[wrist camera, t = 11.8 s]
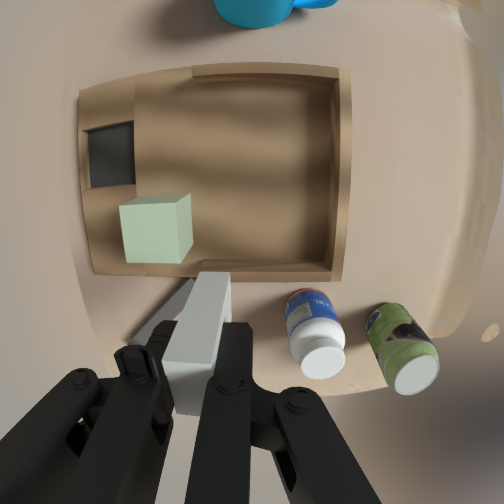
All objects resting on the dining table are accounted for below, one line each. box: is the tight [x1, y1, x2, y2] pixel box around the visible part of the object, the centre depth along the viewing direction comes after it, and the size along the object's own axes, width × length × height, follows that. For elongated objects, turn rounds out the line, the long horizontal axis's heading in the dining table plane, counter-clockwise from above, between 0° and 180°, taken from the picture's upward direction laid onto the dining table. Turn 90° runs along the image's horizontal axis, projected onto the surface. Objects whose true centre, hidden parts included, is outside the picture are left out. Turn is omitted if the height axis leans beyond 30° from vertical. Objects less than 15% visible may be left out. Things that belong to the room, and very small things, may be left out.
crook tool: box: [127, 277, 197, 346], centre depth 31 cm, size 5×14×2 cm, turn 135°
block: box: [119, 193, 193, 264], centre depth 24 cm, size 5×5×5 cm
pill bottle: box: [285, 288, 345, 379], centre depth 26 cm, size 6×5×10 cm
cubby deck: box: [78, 62, 352, 282], centre depth 24 cm, size 21×26×4 cm
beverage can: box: [365, 303, 439, 395], centre depth 26 cm, size 6×7×12 cm
